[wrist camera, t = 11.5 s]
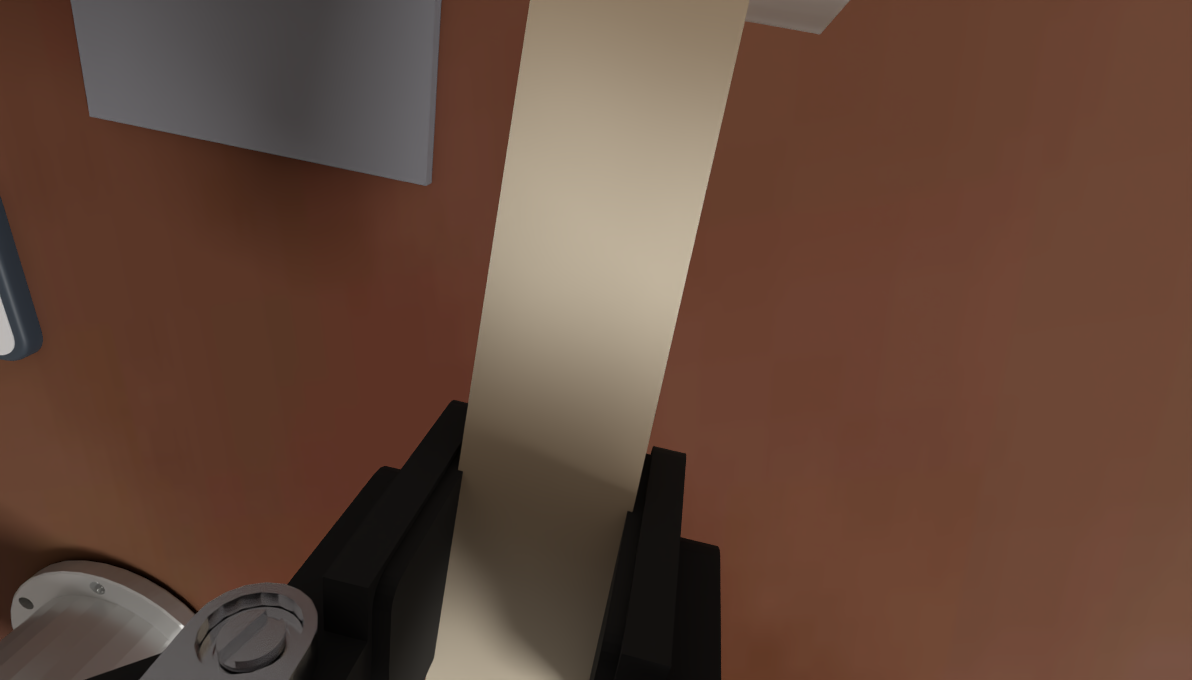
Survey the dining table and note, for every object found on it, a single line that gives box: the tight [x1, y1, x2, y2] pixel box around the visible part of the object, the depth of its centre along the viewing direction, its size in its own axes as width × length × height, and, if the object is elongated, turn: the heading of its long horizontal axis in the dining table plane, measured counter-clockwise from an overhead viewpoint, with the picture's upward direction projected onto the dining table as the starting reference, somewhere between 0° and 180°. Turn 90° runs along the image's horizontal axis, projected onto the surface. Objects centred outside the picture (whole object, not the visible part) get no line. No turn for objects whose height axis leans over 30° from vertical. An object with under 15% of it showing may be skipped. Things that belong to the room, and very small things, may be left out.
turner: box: [426, 0, 850, 680], centre depth 10 cm, size 15×5×5 cm, turn 171°
